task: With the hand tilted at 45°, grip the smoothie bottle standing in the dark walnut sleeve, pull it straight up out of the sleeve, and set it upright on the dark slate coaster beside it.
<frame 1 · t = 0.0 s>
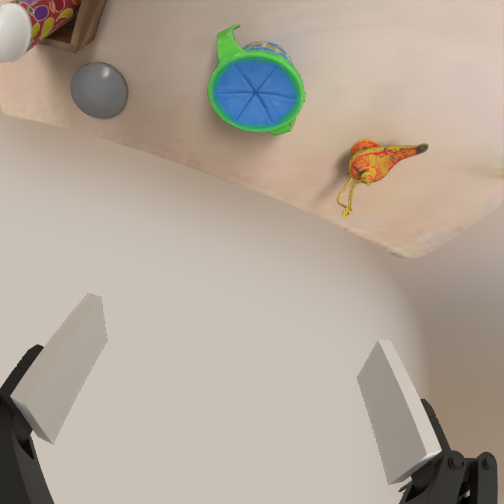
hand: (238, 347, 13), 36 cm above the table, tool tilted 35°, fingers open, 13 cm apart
snack cup: (263, 63, 33), on the table
slate coaster: (99, 89, 37), on the table
magic lamp: (372, 145, 42), on the table
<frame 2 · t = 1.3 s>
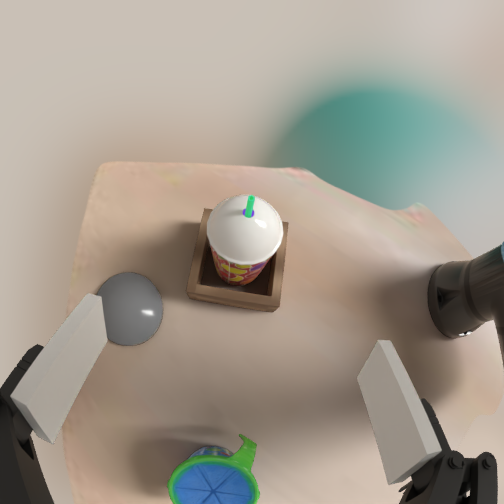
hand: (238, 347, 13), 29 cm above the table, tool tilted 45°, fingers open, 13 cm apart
snack cup: (214, 465, 33), on the table
slate coaster: (128, 309, 40), on the table
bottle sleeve: (237, 266, 44), on the table
smoothie: (237, 266, 44), resting in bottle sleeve
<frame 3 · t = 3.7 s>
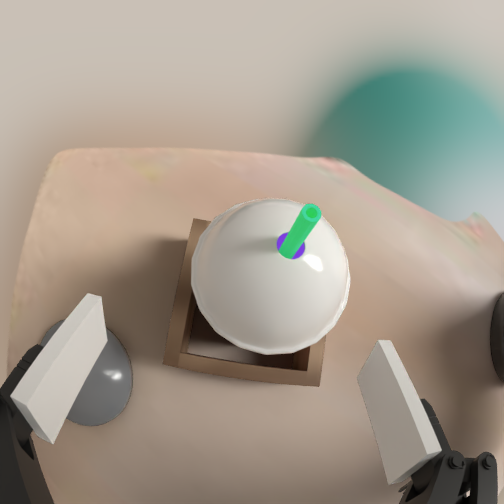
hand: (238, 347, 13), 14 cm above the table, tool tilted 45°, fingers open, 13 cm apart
slate coaster: (83, 372, 23), on the table
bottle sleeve: (247, 311, 27), on the table
smoothie: (247, 311, 28), resting in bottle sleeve
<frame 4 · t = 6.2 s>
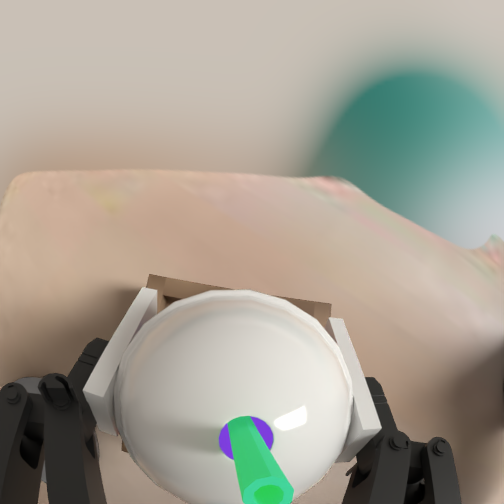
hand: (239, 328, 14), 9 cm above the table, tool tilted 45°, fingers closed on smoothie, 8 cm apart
slate coaster: (47, 433, 17), on the table
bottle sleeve: (225, 379, 21), on the table
smoothie: (225, 379, 21), resting in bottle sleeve, touching gripper
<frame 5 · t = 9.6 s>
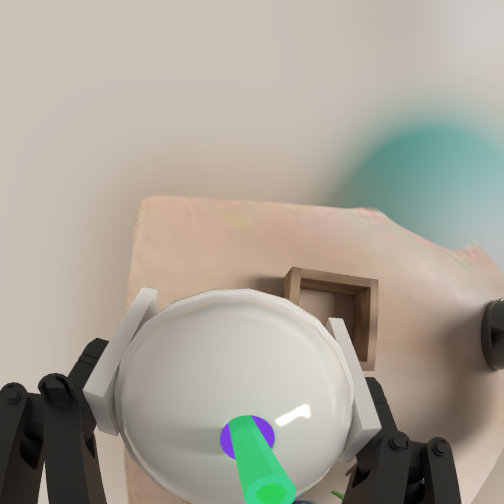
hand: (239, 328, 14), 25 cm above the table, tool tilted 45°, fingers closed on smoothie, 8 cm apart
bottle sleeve: (322, 325, 39), on the table
smoothie: (225, 378, 21), point 15 cm above the table, touching gripper
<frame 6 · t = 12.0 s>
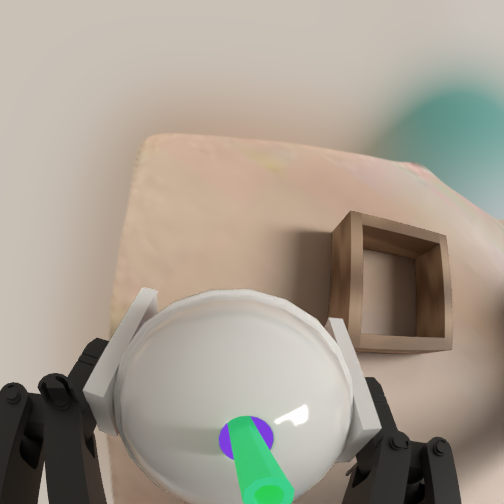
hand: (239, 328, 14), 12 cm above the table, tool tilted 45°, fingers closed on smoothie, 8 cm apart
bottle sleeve: (381, 295, 29), on the table
smoothie: (225, 378, 21), point 3 cm above the table, touching gripper
when the fingers open (12 cm above the table, at t = 13.1 s): smoothie drops 1 cm, resting on slate coaster.
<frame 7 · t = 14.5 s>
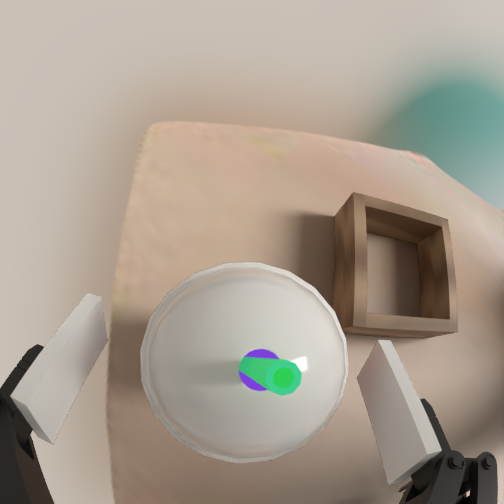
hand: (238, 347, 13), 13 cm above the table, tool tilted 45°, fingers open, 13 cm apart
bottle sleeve: (385, 278, 29), on the table
smoothie: (231, 359, 23), point 1 cm above the table, touching slate coaster
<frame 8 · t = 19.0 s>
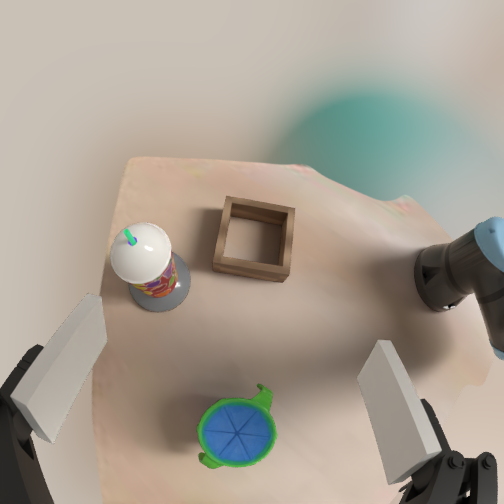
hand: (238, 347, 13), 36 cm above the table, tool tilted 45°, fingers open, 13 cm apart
snack cup: (233, 419, 42), on the table
slate coaster: (159, 281, 49), on the table
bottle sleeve: (252, 244, 53), on the table
smoothie: (159, 280, 48), point 1 cm above the table, touching slate coaster
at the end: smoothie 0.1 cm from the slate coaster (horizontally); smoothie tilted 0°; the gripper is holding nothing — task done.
